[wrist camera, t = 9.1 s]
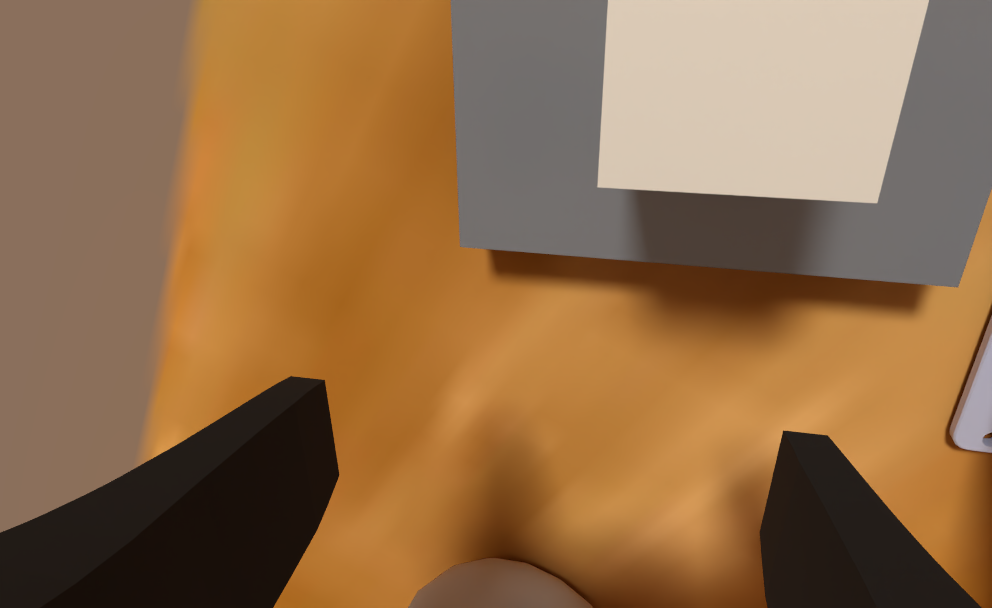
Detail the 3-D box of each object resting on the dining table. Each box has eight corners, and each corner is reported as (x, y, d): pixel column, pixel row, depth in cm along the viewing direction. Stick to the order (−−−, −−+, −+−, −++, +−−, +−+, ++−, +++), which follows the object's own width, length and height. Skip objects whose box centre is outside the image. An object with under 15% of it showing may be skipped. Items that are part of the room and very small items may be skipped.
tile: (1109, -362, 13) (1197, -421, 11) (924, 245, 18) (958, 287, 16) (471, -310, 15) (437, -348, 13) (482, 213, 21) (460, 247, 19)
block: (849, -103, 13) (960, -123, 8) (808, 110, 15) (876, 203, 10) (636, -98, 14) (614, -113, 9) (622, 104, 16) (597, 187, 11)
